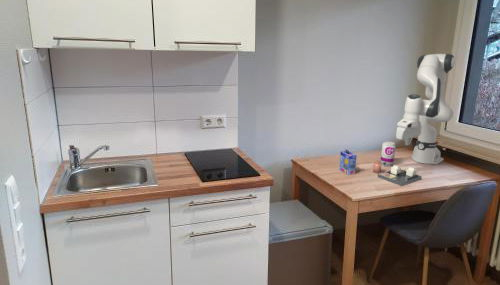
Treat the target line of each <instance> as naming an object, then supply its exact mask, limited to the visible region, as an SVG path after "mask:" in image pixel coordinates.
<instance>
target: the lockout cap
mask: <svg viewBox="0 0 500 285" xmlns="http://www.w3.org/2000/svg"><path fill="white" fill-rule="evenodd" d="M382 166H383V165H382V163H380V161H379V160H376V161H374V162H373V168H372V173H374V174H380V173H382Z"/></svg>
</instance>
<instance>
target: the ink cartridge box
mask: <svg viewBox="0 0 500 285" xmlns="http://www.w3.org/2000/svg"><path fill="white" fill-rule="evenodd" d="M356 165H357V155H356V154H355V153H352V152H351V151H349V150H348V149H346V148H345V149H344V151H343V150H342V151H340V155H339V169H338V170H339V171H341V172H342V173H345V174H346V175H348V176H349V175H355V174H356V167H357V166H356Z"/></svg>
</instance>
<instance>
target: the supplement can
mask: <svg viewBox="0 0 500 285" xmlns="http://www.w3.org/2000/svg"><path fill="white" fill-rule="evenodd" d="M380 153H381V154H380V161H379V162H380V163H382V165H381V166H385V167H393V166H394V162H395V153H396V143H395V142H394V141H393V142H392V141H383V142H382V145H381V152H380Z"/></svg>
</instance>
